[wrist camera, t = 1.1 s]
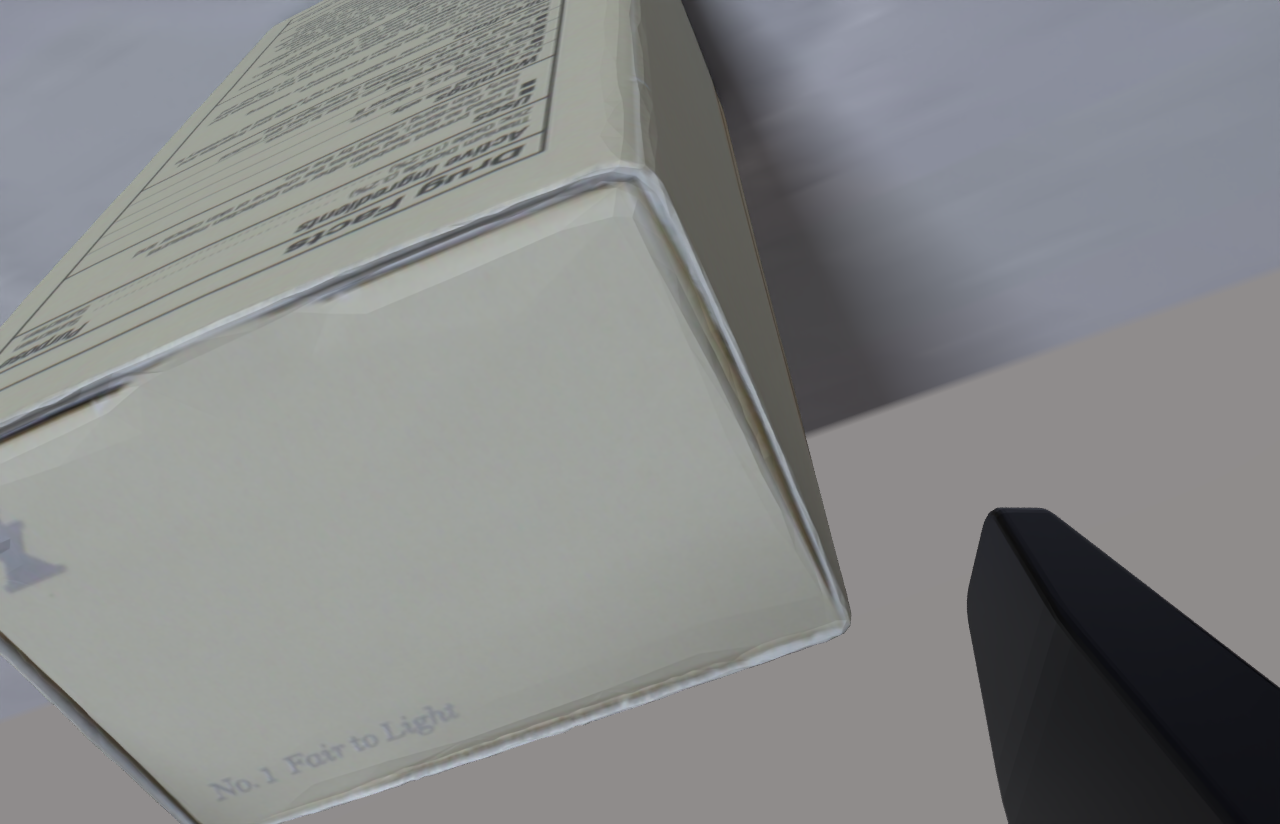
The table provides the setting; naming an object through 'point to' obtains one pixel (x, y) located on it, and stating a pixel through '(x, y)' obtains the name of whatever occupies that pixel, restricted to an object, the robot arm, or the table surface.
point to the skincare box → (407, 413)
